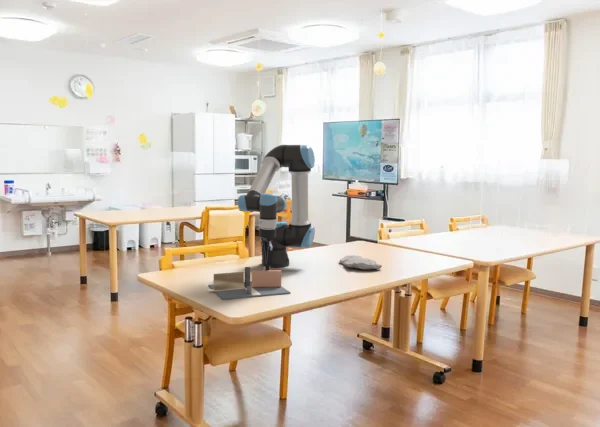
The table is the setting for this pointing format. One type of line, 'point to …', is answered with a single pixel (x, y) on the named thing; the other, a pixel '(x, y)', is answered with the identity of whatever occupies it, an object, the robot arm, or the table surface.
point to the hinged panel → (266, 278)
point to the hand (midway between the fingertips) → (266, 279)
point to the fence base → (232, 280)
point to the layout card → (243, 292)
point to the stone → (359, 262)
